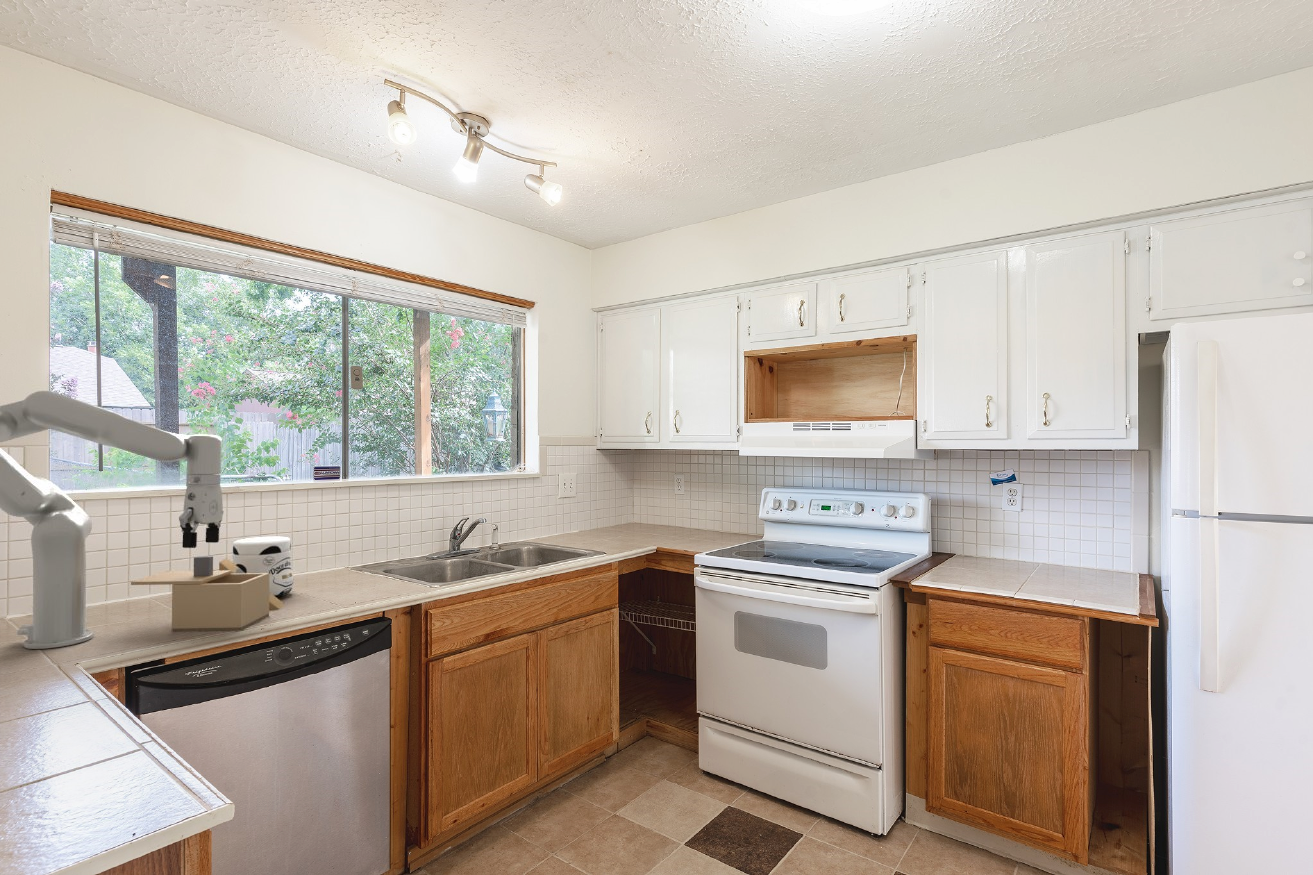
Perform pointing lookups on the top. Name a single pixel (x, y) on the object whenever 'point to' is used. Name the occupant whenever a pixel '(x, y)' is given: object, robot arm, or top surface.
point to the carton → (221, 603)
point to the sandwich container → (228, 565)
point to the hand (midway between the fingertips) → (201, 544)
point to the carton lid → (186, 574)
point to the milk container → (266, 561)
